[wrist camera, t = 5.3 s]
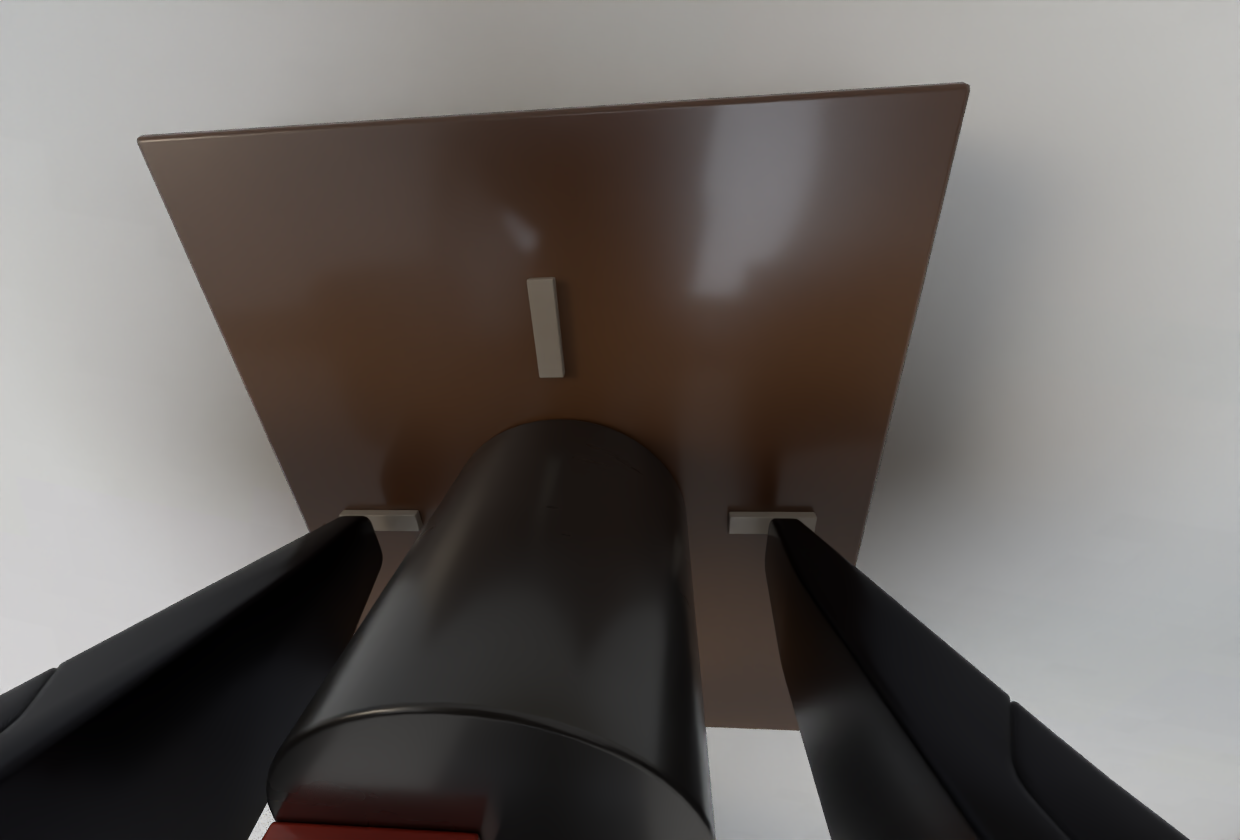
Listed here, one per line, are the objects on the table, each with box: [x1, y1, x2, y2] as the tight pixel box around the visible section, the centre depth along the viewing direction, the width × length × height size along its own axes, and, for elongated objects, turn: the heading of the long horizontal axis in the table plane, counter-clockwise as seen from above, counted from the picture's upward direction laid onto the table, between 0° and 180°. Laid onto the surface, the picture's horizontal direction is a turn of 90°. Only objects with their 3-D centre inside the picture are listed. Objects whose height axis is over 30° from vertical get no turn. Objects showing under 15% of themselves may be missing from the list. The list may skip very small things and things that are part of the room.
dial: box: [262, 419, 716, 840], centre depth 6 cm, size 4×4×5 cm
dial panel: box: [137, 82, 970, 731], centre depth 9 cm, size 12×10×3 cm
